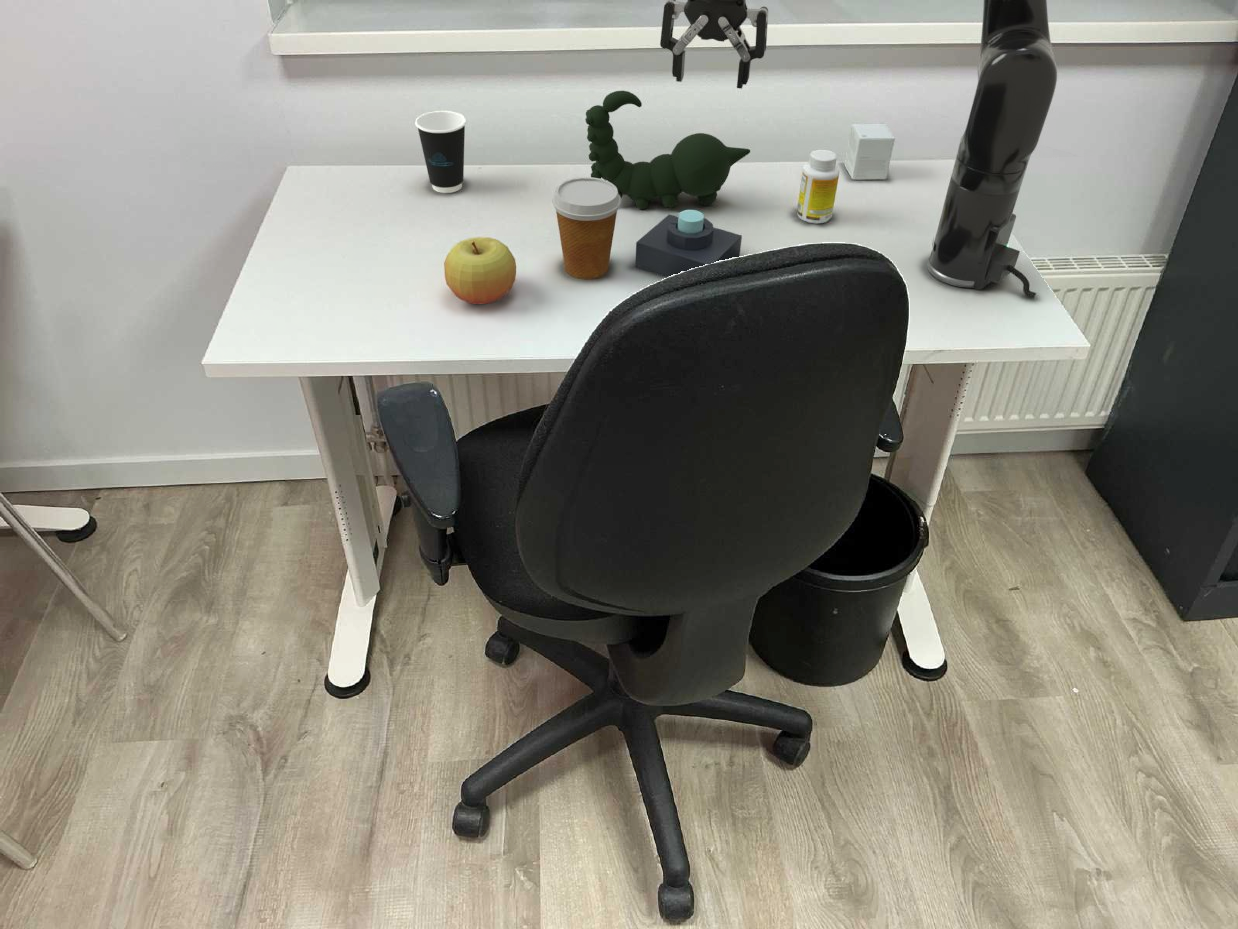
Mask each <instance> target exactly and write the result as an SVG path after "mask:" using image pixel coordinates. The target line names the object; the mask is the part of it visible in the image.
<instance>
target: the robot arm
mask: <svg viewBox="0 0 1238 929" xmlns="http://www.w3.org/2000/svg"><path fill="white" fill-rule="evenodd" d="M982 1H983V2H982V4H983V5H982V6H983V7H982V26H981V37H980V47H979V56H978V62H977V84H976V89H975V93H974V97H973V100H972V105H971V108H970V112H969V116H968V119H967V123H966V126H965V130H964V132H963V134H962V135H961V138H960V141H959V144H958V148H957V153H956V156H955V160H954V164H953V168H952V172H951V175H950V180H949V183H948V187H947V189H946V190H947V191H946V195H945V198H944V203H943V207H942V209H941V214H940V218H939V220H938V221H939V222H938V226H937V231H936V234H935V236H934V237H933V238H932V242H931V252H930V255H929V257H928V261H927V269H928V272H929V273H930V274H931V275H932V276H933V278H935V279H937V280H938V281H940V282H942V283H945V284H947V285H951V286H955V287H959V288H972V289H976V290H978V291H982V290H983V289H984V288H985V287H986V286H988V284H990V283H991V282H992V283H995V284H997V285H999V284H1001V282H1003V281H1004V280H1005V279H1006V278H1007V277H1008V276H1009V275H1010V274H1012V275H1013V276H1015V277H1016V278H1017V279H1018V280H1019V281H1021V284H1022V291H1023V294H1024V295H1025V296H1026V297H1027V298H1031V299H1034V298H1035V297H1036V295H1037V292H1036V291H1031V290H1030V287H1031V286H1030V281H1029V279H1028V278H1027V276H1026V275H1025V274H1024V273H1023V272H1021V271H1020V270H1018V269H1017V268H1016V264H1017V261H1018V258H1019V255H1020V253H1021V251H1020V250H1018V249H1015V248H1013V247H1010V246H1009V241H1010V238H1011V235H1012V232H1013V229H1014V225H1015V222H1016V219H1017V215H1016V214H1015V213H1014V210H1015V206H1016V204H1017V201H1018V196H1019V194H1020V191H1021V187H1022V184H1023V181H1024V179H1025V176H1026V175H1025V174H1026V171H1027V169H1028V165H1029V162H1030V159H1031V157H1032V154H1033V153H1034V151H1035V150H1036V148H1037V146H1038V143H1039V140H1040V138H1041V134H1042V132H1043V128H1044V125H1045V123H1046V120H1047V116H1048V114H1049V111H1050V108H1051V105H1052V102H1053V98H1054V95H1055V92H1056V91H1055V90H1056V88H1057V81H1058V69H1057V63H1056V58H1055V53H1054V48H1053V46H1052V42H1051V34H1050V26H1049V14H1048V2H1047V1H1048V0H982ZM681 13H684V16H685V17H686V19H687V21H688V22H689V24H690V25H689V26H688V27H687V29H686V30H685V31H684V32H683V33H682V35H681V36H680V37H679V39H677V38H674V37H673V34H674V26H675V20H677V19H678V18H679V17H680V16H681ZM747 19H749V20H750V25H751V26H752V27H753V28H755V29H756V30H755V45H754V46H751V45H750V43H749V41H748V40H747V38H746V34H745V33H744V31H743V29H742V27H741V26H742V25H743V23H745V21H746V20H747ZM768 22H769V8H768V7H767V6H761V7H760V8H748V6H747V2H746V0H687V1H686V2H683V1H677V0H667V1H666V2H665V4H664V6H663V13H662V24H661V31H660V32H661V33H660V42H659V45H660V48H662V49H664V50H665V49H666V50H668V51H670V52H671V53H672V68H671V74H672V77H673V78H675V81H676V82H677V83H678V82H680V83H681V82H683V79H684V76H685V62H686V50H685V49H686V48H687V46H688V45H689V44H690V43H692V41H693V40H694V39H695V37H696V36H697V37H699V38H700V40H703V41H709V40H715V41H717V42H725V41H727V40H728V41H729V43H730V44H731V46H732V47H733V50H734V49H735V51H736V52H737V54H738V56H739V57H740V59H739V62H738V70H737V81H736V89H741V90H742V89H743V87H744V86H746V85H747V83H748V82H749V78H750V73H751V65H752V64H751V62H752V61H753V60H755V59H760V60H761V59H763V58H764V56H765V53H766V51H767V41H768Z"/></svg>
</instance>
